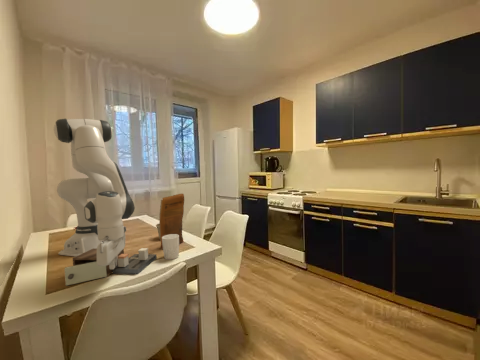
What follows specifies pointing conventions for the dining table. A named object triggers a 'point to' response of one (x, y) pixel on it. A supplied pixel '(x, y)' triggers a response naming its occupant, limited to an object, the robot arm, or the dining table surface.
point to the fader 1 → (123, 260)
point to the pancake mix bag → (171, 216)
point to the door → (84, 273)
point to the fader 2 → (143, 253)
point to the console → (134, 265)
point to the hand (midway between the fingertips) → (113, 267)
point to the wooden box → (91, 259)
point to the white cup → (170, 246)
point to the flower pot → (158, 229)
